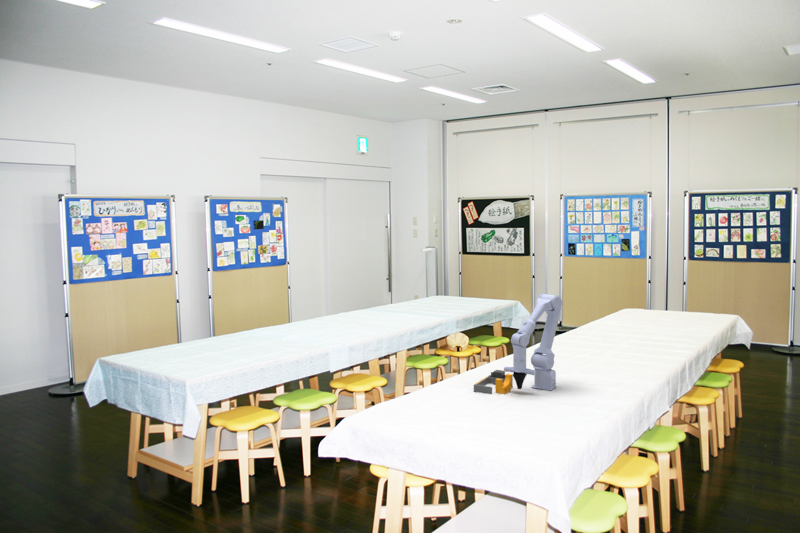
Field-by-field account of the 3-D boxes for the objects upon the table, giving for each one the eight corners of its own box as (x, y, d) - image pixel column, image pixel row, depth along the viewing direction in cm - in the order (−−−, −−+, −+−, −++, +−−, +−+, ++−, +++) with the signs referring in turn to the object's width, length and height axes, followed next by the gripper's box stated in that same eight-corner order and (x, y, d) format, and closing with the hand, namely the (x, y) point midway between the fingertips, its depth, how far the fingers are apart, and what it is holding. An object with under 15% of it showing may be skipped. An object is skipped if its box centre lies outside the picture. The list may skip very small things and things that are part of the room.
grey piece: (511, 381, 287) (511, 370, 287) (493, 394, 267) (493, 382, 267) (492, 379, 292) (492, 368, 292) (473, 391, 272) (473, 379, 272)
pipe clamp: (504, 394, 267) (504, 380, 266) (495, 393, 270) (495, 379, 269) (515, 388, 276) (515, 374, 276) (507, 386, 279) (507, 373, 279)
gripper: (501, 359, 268) (501, 388, 269) (532, 363, 261) (532, 393, 262) (507, 356, 274) (507, 385, 275) (537, 359, 267) (537, 389, 268)
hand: (519, 388), depth 269 cm, fingers closed
